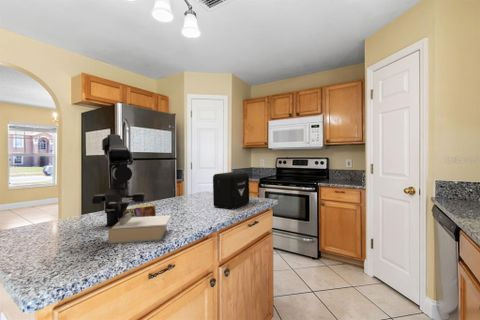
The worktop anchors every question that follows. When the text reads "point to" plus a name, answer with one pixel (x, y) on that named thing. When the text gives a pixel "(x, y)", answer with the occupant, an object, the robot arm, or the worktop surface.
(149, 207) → the candy box
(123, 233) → the box
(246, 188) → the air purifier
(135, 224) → the lid
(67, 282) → the worktop surface
